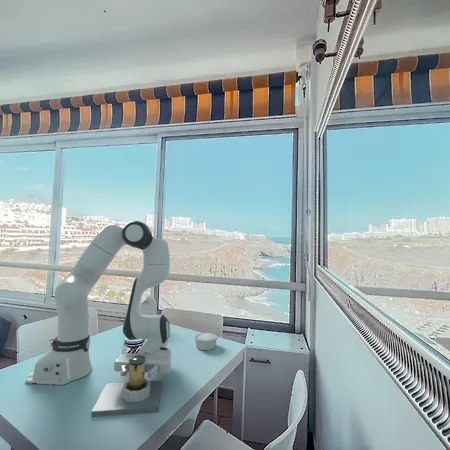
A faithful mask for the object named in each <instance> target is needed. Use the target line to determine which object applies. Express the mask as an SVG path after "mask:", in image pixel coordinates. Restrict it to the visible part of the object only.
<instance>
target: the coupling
mask: <svg viewBox="0 0 450 450" xmlns="http://www.w3.org/2000/svg"><path fill="white" fill-rule="evenodd" d="M129 364H130V366H129V372H128V374H129V376H128V381H129V390H130V391H139V390H141V389H143V388H144V378H145V375H146V374H145V373H146V372H145V356H143V355H136V356H132V357H131V358H129Z"/></svg>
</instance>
